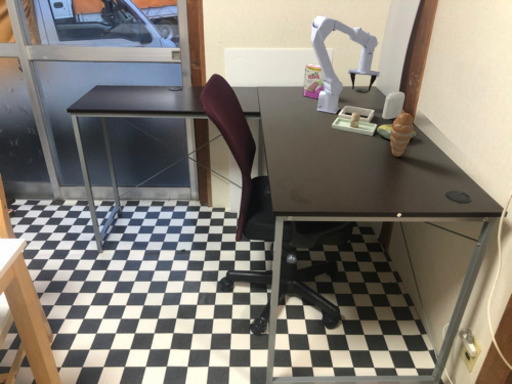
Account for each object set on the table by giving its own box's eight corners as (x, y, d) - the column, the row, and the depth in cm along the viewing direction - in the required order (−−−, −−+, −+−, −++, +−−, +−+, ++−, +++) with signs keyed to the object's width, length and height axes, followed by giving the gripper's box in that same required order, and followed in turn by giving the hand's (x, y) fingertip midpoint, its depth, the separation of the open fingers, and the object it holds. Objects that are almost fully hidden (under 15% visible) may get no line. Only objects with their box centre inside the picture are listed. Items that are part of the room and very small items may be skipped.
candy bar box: (302, 96, 219) (305, 65, 211) (306, 94, 223) (309, 63, 214) (321, 100, 214) (324, 68, 206) (325, 98, 218) (329, 66, 209)
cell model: (376, 125, 180) (412, 116, 174) (380, 142, 181) (416, 134, 176) (376, 129, 170) (414, 120, 164) (380, 147, 171) (417, 138, 166)
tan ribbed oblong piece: (382, 151, 162) (391, 107, 153) (401, 151, 162) (412, 107, 153) (390, 161, 154) (400, 115, 145) (410, 161, 155) (421, 116, 146)
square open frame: (337, 120, 190) (338, 114, 188) (344, 111, 201) (345, 105, 199) (367, 125, 185) (368, 119, 183) (373, 116, 196) (374, 110, 195)
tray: (331, 128, 181) (331, 124, 180) (336, 121, 189) (337, 117, 188) (372, 135, 175) (373, 132, 174) (376, 128, 183) (377, 124, 182)
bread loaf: (349, 127, 181) (351, 114, 178) (351, 124, 184) (353, 112, 181) (357, 129, 180) (359, 116, 177) (359, 126, 182) (361, 113, 179)
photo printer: (394, 114, 200) (400, 89, 194) (401, 116, 197) (407, 91, 191) (380, 117, 195) (385, 92, 189) (387, 120, 192) (392, 94, 186)
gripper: (349, 62, 192) (345, 90, 199) (381, 64, 189) (376, 93, 196) (350, 58, 198) (346, 86, 205) (381, 61, 195) (376, 89, 202)
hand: (361, 89), depth 201 cm, fingers open, 7 cm apart
